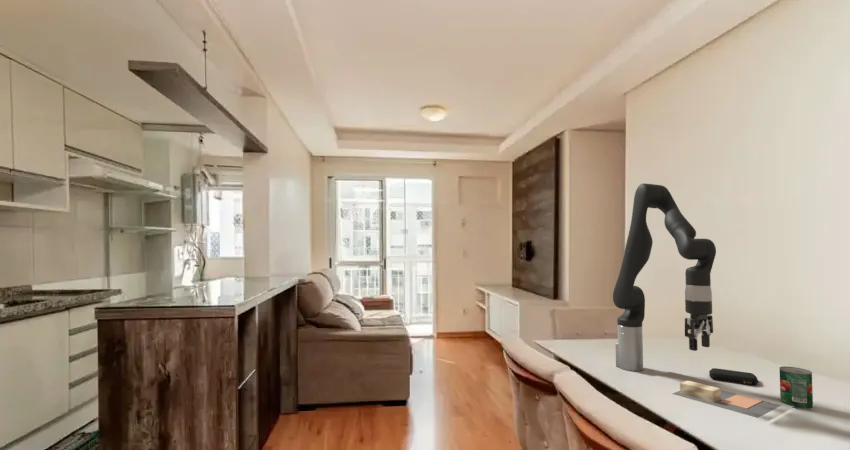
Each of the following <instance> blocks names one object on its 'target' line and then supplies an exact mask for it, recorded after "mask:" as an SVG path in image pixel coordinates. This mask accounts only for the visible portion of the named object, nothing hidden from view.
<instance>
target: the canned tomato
mask: <svg viewBox="0 0 850 450" xmlns="http://www.w3.org/2000/svg"><path fill="white" fill-rule="evenodd" d="M779 391H780V393H779V394H780V395H779V397H780V398H779V399H780V402H781V403H783V404H784V405H788V406H790V407H792V409H798V410H805V411H806V410H807V411H810V410H813V409H814V401H813V400H814V397H813V394H814V393H813V392H814V391H813V371H811V370H809V369H806V368H802V367H801V368H800V367H795V366H780V367H779Z"/></svg>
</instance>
